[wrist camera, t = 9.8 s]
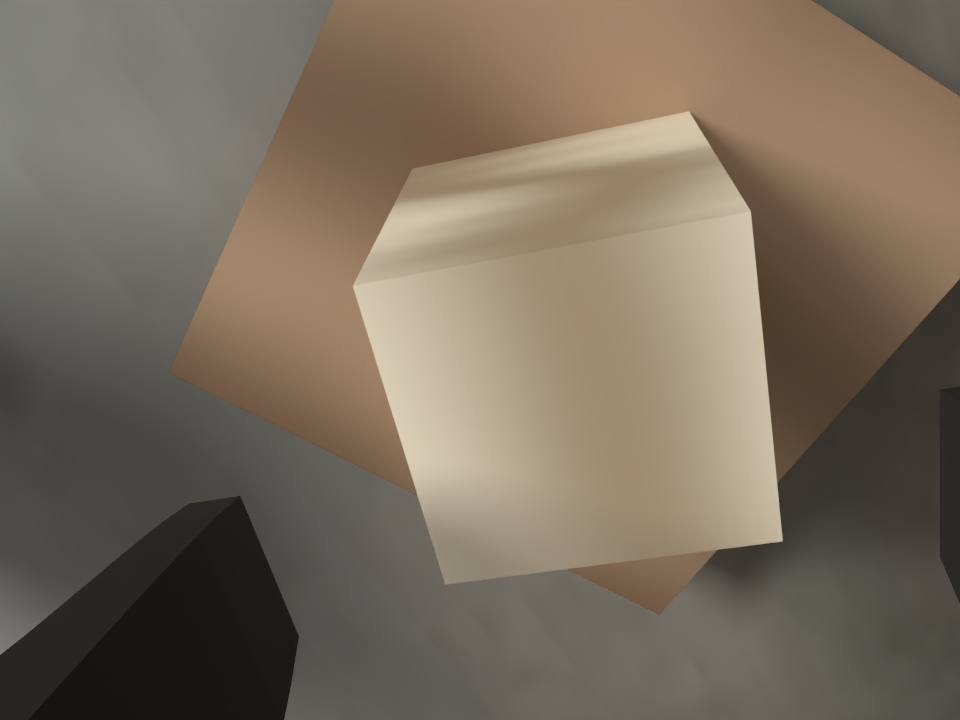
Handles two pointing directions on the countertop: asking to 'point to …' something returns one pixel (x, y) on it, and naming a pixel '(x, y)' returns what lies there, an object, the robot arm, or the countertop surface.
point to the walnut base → (571, 111)
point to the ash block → (576, 353)
